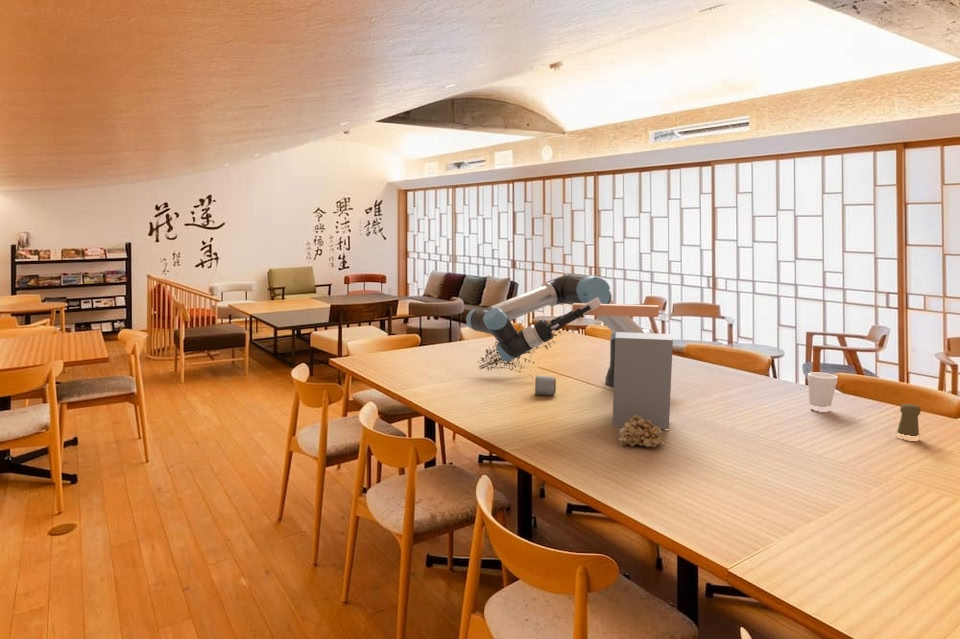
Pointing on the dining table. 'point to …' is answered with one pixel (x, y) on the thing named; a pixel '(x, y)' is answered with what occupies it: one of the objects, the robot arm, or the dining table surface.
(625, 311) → the rail
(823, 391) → the foam cup
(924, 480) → the dining table surface
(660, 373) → the stand
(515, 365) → the dried plant
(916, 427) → the olive pepper mill
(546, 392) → the ceramic mug
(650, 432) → the mineral formation
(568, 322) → the robot arm
